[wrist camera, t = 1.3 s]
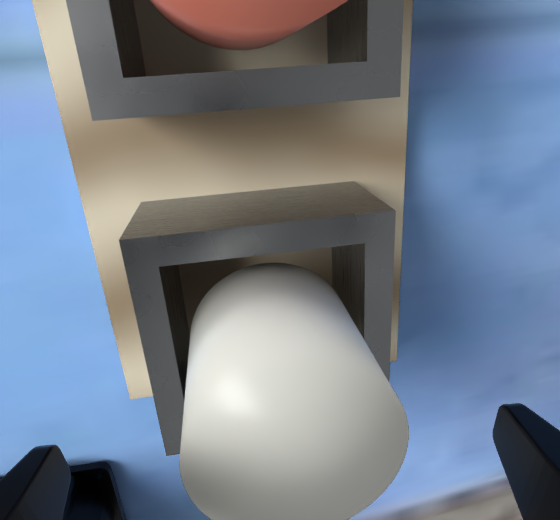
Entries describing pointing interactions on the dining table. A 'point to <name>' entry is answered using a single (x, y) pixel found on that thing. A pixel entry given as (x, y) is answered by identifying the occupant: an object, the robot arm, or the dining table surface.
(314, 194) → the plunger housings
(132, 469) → the dining table surface
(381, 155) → the board
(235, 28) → the red plunger
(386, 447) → the white rounded tapered piece
